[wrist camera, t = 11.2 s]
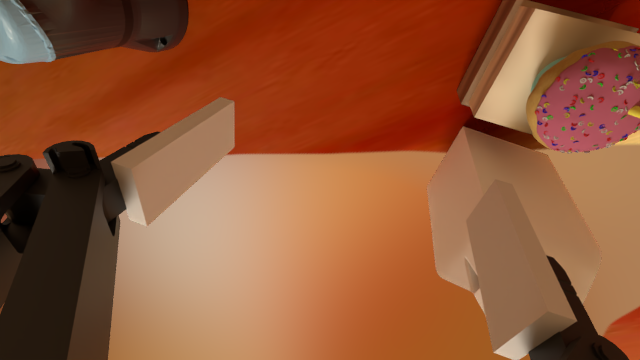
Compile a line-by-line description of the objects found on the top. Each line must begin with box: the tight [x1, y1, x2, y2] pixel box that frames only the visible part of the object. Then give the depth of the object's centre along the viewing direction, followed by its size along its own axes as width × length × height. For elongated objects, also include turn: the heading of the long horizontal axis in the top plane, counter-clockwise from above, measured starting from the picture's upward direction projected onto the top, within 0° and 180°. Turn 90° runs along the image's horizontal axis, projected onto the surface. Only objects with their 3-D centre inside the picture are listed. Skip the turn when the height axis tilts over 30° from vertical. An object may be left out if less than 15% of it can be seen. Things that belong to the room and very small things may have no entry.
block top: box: [469, 6, 640, 135], centre depth 28 cm, size 10×10×5 cm
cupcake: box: [526, 41, 640, 153], centre depth 21 cm, size 9×8×12 cm
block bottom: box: [457, 0, 639, 107], centre depth 33 cm, size 11×11×6 cm
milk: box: [427, 126, 602, 314], centre depth 33 cm, size 12×12×26 cm
